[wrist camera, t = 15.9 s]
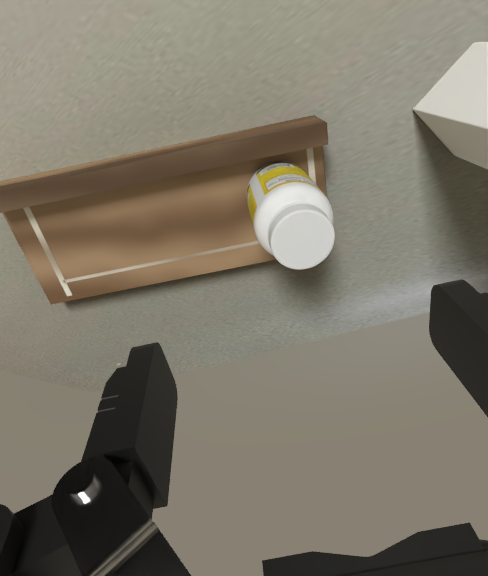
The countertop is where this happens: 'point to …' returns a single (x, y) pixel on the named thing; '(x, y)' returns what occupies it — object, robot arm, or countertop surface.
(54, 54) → the countertop surface
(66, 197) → the board
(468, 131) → the milk
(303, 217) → the supplement bottle
